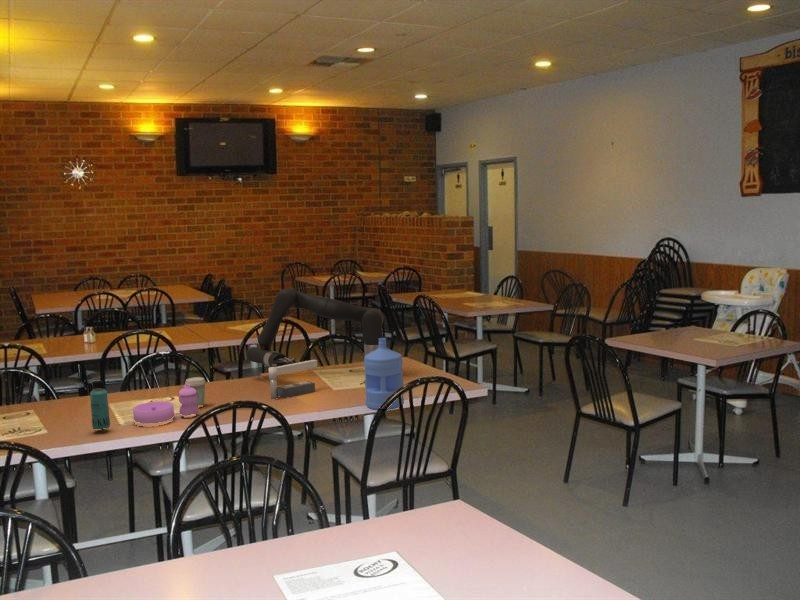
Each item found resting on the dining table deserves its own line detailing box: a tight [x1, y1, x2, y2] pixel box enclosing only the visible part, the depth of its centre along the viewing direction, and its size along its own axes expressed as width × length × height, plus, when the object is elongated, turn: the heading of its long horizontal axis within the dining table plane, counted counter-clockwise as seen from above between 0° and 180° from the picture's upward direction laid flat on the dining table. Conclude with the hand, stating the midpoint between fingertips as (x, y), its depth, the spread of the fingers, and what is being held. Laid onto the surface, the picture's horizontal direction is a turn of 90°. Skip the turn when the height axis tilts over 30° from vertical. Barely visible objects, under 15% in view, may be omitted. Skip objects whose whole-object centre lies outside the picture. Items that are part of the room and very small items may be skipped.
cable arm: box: [268, 359, 318, 380], centre depth 347 cm, size 24×4×4 cm, turn 129°
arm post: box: [269, 377, 279, 400], centre depth 342 cm, size 3×3×9 cm
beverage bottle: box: [89, 379, 111, 429], centre depth 301 cm, size 6×7×20 cm
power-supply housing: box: [277, 380, 316, 399], centre depth 349 cm, size 16×6×4 cm, turn 129°
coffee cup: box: [184, 376, 207, 406], centre depth 333 cm, size 8×8×12 cm
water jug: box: [363, 337, 405, 411], centre depth 323 cm, size 16×16×28 cm
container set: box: [132, 384, 200, 423], centre depth 315 cm, size 25×15×13 cm, turn 115°
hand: (294, 365), depth 351 cm, fingers closed
